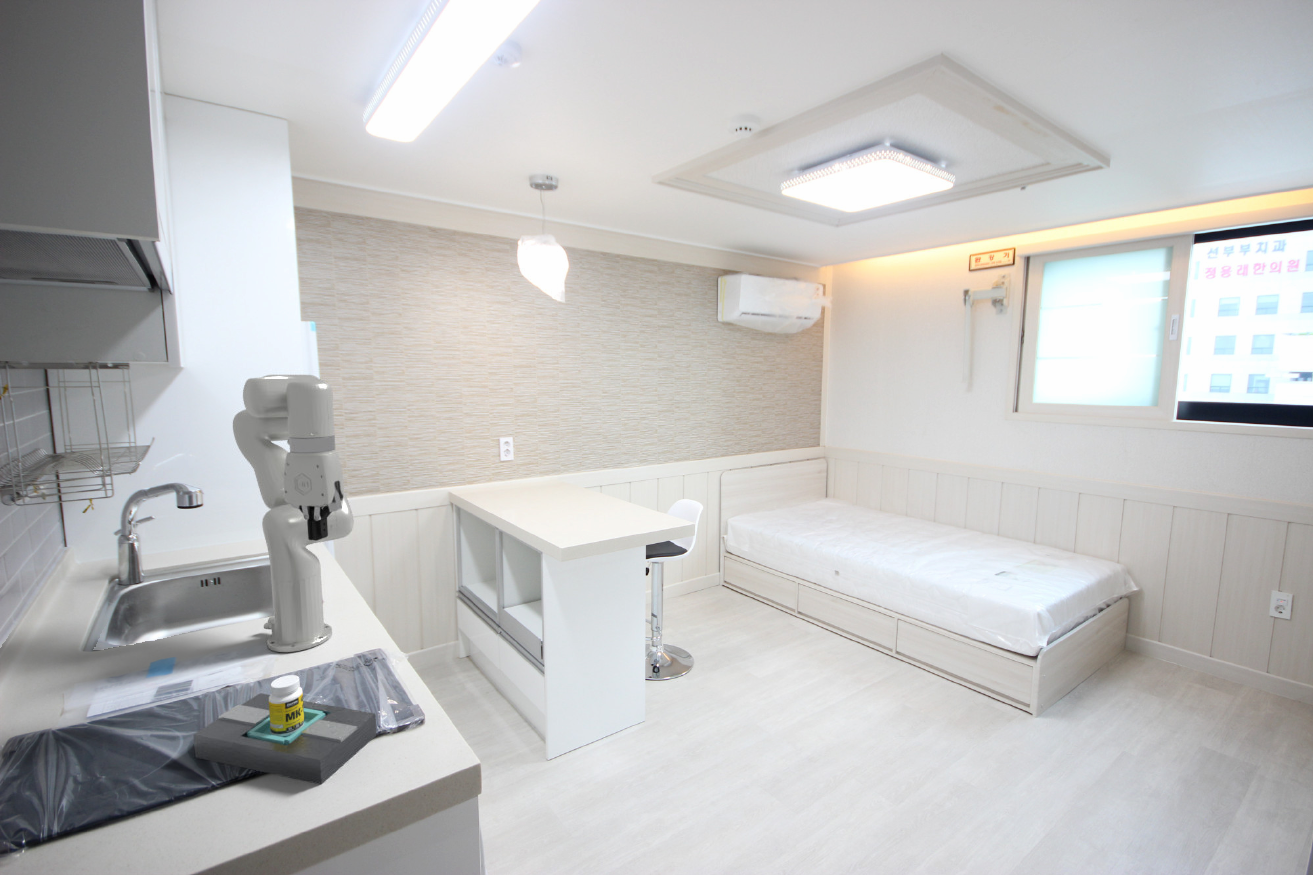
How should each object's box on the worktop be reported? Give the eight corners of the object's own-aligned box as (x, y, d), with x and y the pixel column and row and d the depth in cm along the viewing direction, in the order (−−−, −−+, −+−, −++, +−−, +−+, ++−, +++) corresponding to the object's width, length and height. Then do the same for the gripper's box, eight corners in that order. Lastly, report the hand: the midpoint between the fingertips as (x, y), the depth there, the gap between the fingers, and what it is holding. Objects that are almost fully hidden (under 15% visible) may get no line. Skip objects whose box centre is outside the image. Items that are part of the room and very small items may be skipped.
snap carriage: (245, 752, 93) (244, 733, 93) (288, 721, 101) (287, 704, 101) (288, 760, 91) (287, 742, 91) (328, 729, 99) (327, 711, 99)
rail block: (195, 757, 93) (193, 732, 93) (261, 713, 105) (259, 691, 104) (321, 784, 88) (319, 757, 87) (376, 735, 100) (375, 711, 99)
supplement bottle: (288, 739, 93) (284, 691, 92) (263, 735, 94) (259, 687, 93) (311, 721, 98) (308, 675, 97) (287, 718, 99) (284, 671, 98)
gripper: (263, 446, 109) (270, 540, 111) (330, 450, 106) (336, 547, 108) (296, 441, 116) (302, 530, 119) (360, 444, 113) (365, 536, 115)
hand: (318, 538), depth 113 cm, fingers closed
